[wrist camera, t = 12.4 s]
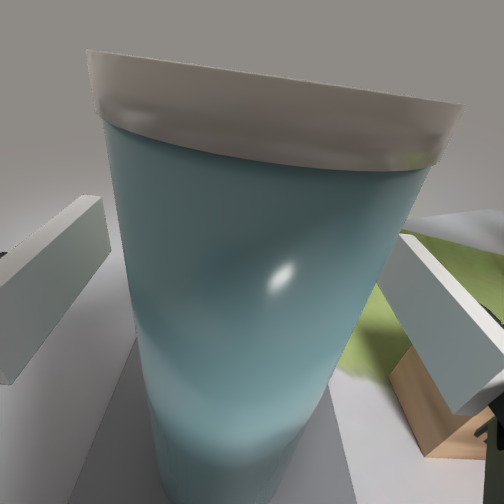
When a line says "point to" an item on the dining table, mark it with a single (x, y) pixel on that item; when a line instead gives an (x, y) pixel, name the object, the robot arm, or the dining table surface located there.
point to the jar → (251, 248)
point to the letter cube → (435, 414)
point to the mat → (146, 468)
